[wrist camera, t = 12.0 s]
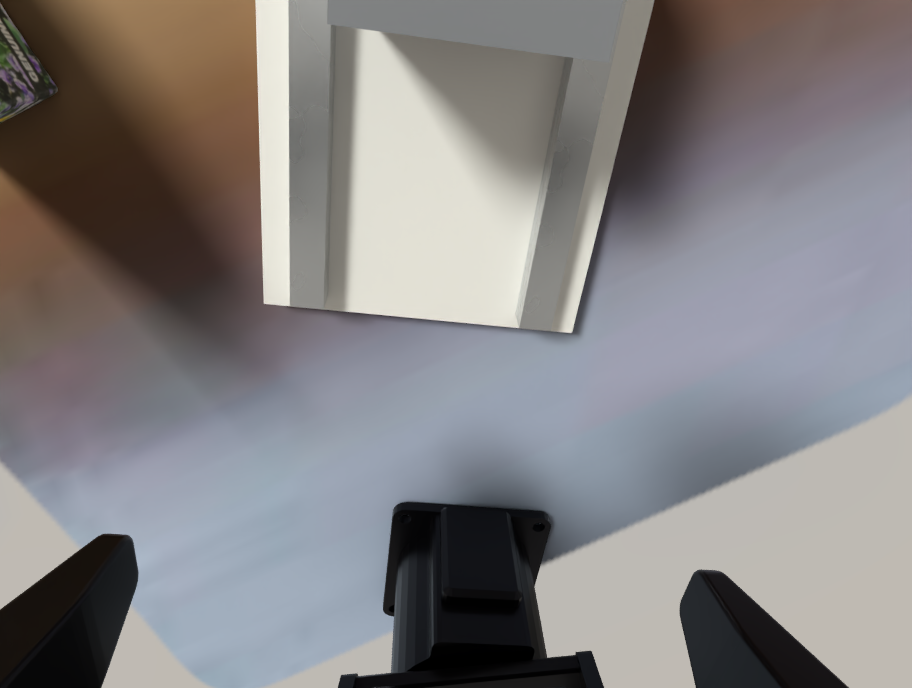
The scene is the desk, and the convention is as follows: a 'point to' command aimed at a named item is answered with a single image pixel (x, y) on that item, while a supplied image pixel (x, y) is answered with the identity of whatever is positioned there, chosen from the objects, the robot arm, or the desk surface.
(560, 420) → the desk surface
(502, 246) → the rail plate
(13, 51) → the ink box
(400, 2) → the block
